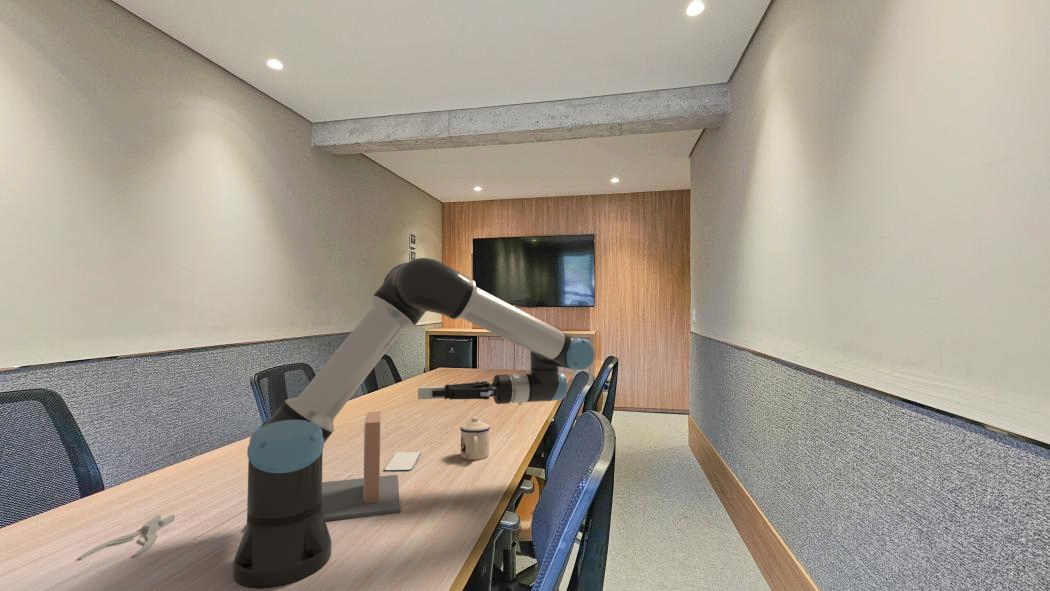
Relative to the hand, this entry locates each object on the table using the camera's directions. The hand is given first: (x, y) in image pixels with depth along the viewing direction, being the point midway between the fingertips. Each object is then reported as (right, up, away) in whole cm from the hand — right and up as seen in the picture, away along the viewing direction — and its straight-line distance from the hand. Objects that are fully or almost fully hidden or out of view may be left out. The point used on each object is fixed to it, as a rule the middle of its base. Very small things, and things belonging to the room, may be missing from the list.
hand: (418, 393), depth 112 cm
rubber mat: (-19, -24, -7) cm, 31 cm away
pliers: (-49, -23, -24) cm, 59 cm away
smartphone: (-9, -25, +21) cm, 34 cm away
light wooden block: (-10, -23, -4) cm, 25 cm away
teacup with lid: (+11, -25, +25) cm, 38 cm away
